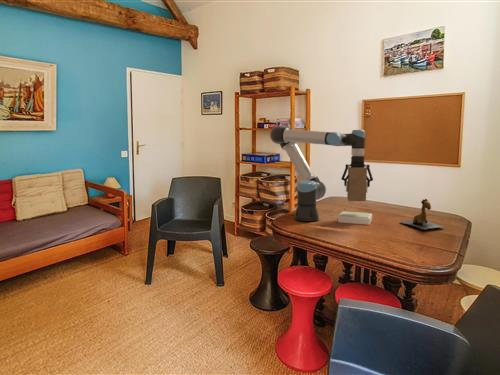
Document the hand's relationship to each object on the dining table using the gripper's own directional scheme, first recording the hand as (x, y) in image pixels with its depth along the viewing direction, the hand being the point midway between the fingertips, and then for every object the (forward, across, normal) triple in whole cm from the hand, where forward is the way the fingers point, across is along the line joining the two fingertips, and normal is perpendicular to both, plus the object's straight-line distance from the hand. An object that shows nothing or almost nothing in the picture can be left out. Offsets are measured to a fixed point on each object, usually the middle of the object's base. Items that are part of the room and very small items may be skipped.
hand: (356, 192), depth 206 cm
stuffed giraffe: (+18, +36, +5) cm, 41 cm away
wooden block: (+5, 0, 0) cm, 5 cm away
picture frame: (+18, 0, 0) cm, 18 cm away
